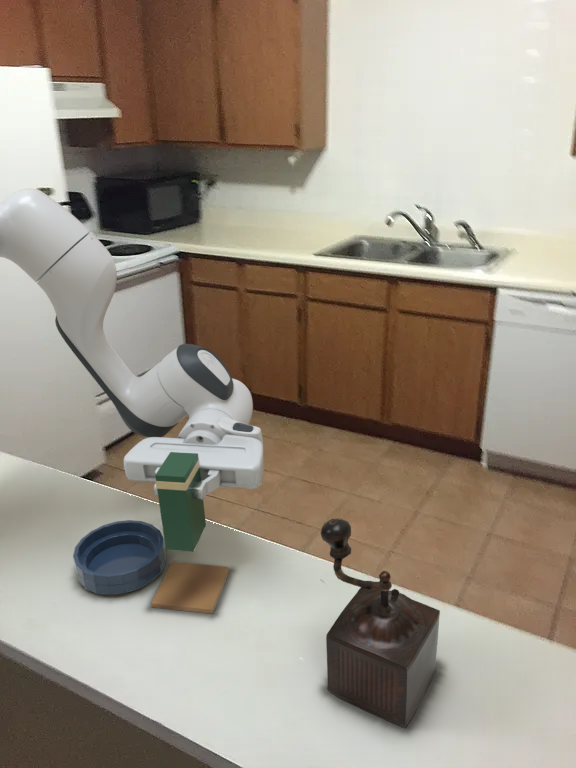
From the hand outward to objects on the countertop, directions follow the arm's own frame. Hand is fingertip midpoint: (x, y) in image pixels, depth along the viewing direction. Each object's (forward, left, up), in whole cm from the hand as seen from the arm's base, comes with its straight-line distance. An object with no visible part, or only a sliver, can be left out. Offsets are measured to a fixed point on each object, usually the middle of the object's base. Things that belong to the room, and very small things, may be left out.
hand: (178, 493), depth 90 cm
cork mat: (0, +1, -17) cm, 17 cm away
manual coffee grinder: (+26, -10, -17) cm, 33 cm away
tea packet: (0, +1, -8) cm, 8 cm away
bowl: (-12, +4, -17) cm, 21 cm away
